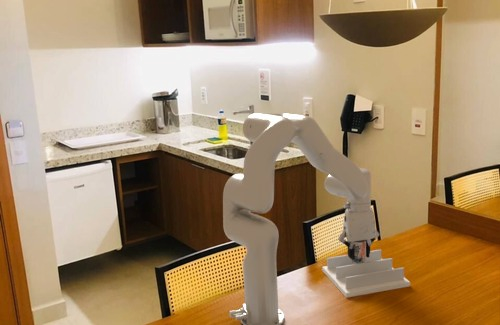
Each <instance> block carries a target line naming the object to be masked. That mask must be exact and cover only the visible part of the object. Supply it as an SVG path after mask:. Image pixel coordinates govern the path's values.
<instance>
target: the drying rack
mask: <svg viewBox="0 0 500 325" xmlns="http://www.w3.org/2000/svg"><path fill="white" fill-rule="evenodd" d="M321 271H322V273H324V274H325V275H326V277H328V279H329V280H330V282H331V283H333V285H334V286H335V287H336V288H337V289H338V290H339V291H340V292H341V294H342V295H343V296H344V297H345V298H346V299H347V298H351V297H358V296H363V295H364V296H365V295H369V294H374V293H380V292H384V291H391V290H396V289H397V290H398V289H403V288H408V287H411V282H410V281H409V280H408V279H407V277H405V267H398V268H397V267H396V268H394V267H393V258H392V257H391V258H390V257H389V258H382V249H375V250H370V254H369V257H368V258H367V257H366V262H364V263H358V264H352V259H351V258H349V256H348V254H343V255H338V256H337V255H336V256H332V257H326V265H325V266H322V267H321Z"/></svg>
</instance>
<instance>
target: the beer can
mask: <svg viewBox="0 0 500 325" xmlns="http://www.w3.org/2000/svg"><path fill="white" fill-rule="evenodd" d="M353 248H354V260H352V264H358V263H364V262H366V240H361V241H354V245H353Z"/></svg>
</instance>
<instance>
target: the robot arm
mask: <svg viewBox="0 0 500 325" xmlns="http://www.w3.org/2000/svg"><path fill="white" fill-rule="evenodd" d="M242 133H243V135H244V137H245V138H246V139H247V140H248V141H249V142H252V143H251V144H250V146H249V147H248V149H247V151H246V153H245V156H244V159H243V171H242V173H236V174H233V175H232V176H230V177H229V178H228V180H227V181H226V183H225V185H224V187H223V192H222V219H223V220H222V223H223V224H222V225H223V231H224V234H225V236H226V237H227V239H229V240H230V241H232V242H234V243H236V244H239V245H240V246H243V247H245V249H246V254H245V256H244V258H243V260H242V272H243V275H242V276H243V287H244V288H243V290H244V303H243V304H242V307H240V308H239V309H236V310H235V309H233V310H229V318H235V321H240V323H241V325H242V324H243V325H282V324H283V323H284V322H285V314H284V312H283V311H282V310H281V309H280V308H279V296H278V292H279V291H278V274H277V252H278V251H277V249H278V244H279V229H278V227H277V225H276V224H275V223H274V222H273V221H272V220H271V219H269V218H266V217H264V216H261V215H259V214H266V213H268V212H269V211H271V209H272V207H273V204H274V199H275V198H274V197H275V169H276V168H275V167H276V166H275V165H276V162H277V159H278V157H279V155H280V153H281V152H282V151H283V150H284V149H285V148H286V147H287V146H288V145H289V144H290V143H291V144H295V145H296V147H298V149H299V150H300V152H301V153H302V154H303V155H304V157H305V158H306V160H307V161H308V162H309V164H310V165H312V167H314V168H315V169H317V170H318V171H320V172H322V173H324V174H327V176H326V177H325V179H324V184H323V185H324V188H325V190H326V192H328V193H329V194H330V195H333V196H337V197H340V198H344V199H346V203H345V204H343V209H345V211H344V216H343V226H342V232H341V233H340V234H339V236H338V238H337V240H338V241H339V243H342V244H344V245H345V246H346V248H347V255H348V256H349V258H351V259H352V260H354V248H353V245H354V241H361V240H366V257H367V258H368V257H369V254H370V251H371V247H372V244H373V242H374V241H375V240H376V239H377V238H378V237H380V232H379V231H378V230H377V227H376V225H377V224H376V218H375V211H374V209H373V208H371V205H372V204H371V202H372V201H371V199H372V198H371V197H372V196H371V195H372V194H371V193H372V192H371V190H372V186H371V185H372V183H371V182H372V175H371V172H370V170H369V169H367V168H364V167H359V165H357V164H356V163H355V162H353V160H351V159H350V158H348V156H346V155H345V154H343V153H342V152H341V151H339V150H338V149H336V148H335V146H333V144H332V142H331V141H330V140H329V138H328V137H327V135H326V133H325V132H324V131H323V129H322V128H321V127H320V125H319V124H318V122H317V121H316V120H315V119H314V118H313V117H311V116H309V115H305V114H304V115H303V114H295V113H290V112H289V113H286V112H285V113H281V112H280V113H278V112H277V113H275V112H273V113H272V112H271V113H269V112H267V113H265V112H254V113H251V114H249V115H247V117H246V118H245V120H244V121H243V124H242ZM255 213H257V214H255ZM345 238H346V239H345Z"/></svg>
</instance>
